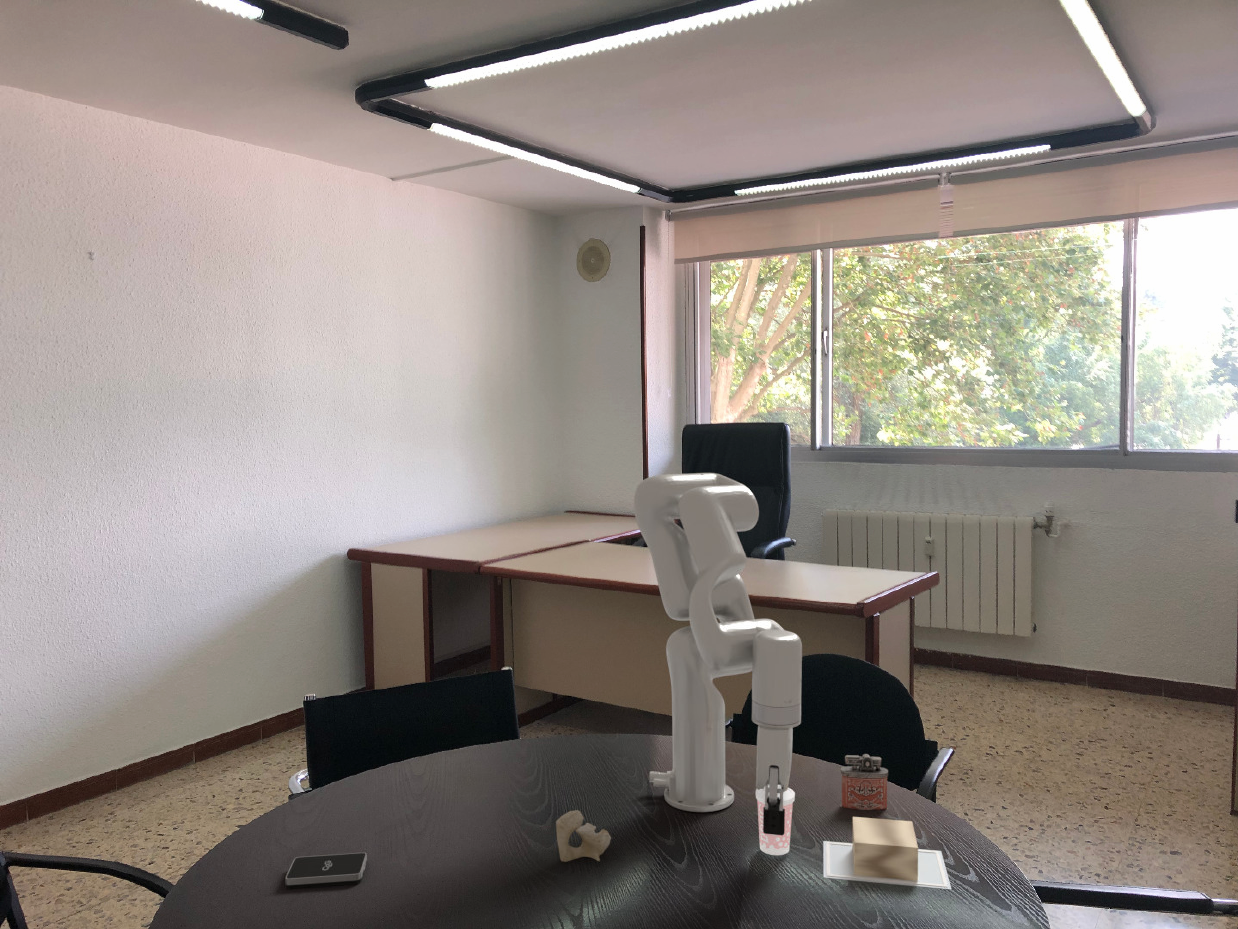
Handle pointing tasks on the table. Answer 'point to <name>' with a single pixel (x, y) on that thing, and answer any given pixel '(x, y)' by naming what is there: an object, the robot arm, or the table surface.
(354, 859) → the external hard drive
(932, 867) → the white tray
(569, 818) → the bone
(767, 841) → the beverage cup
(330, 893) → the table surface
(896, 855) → the maple block
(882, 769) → the lighter
